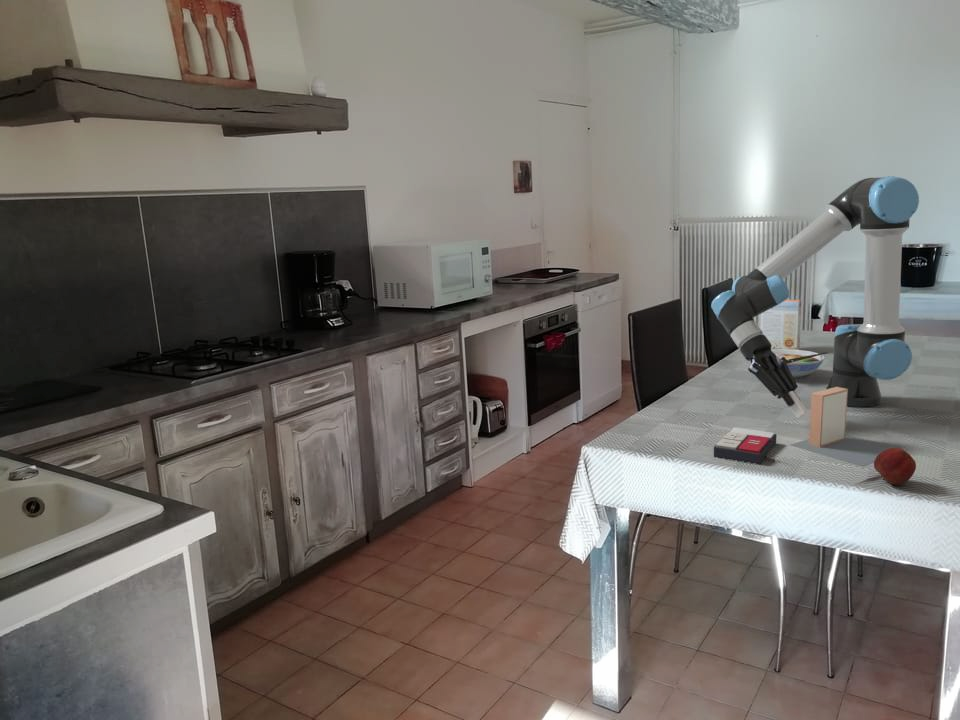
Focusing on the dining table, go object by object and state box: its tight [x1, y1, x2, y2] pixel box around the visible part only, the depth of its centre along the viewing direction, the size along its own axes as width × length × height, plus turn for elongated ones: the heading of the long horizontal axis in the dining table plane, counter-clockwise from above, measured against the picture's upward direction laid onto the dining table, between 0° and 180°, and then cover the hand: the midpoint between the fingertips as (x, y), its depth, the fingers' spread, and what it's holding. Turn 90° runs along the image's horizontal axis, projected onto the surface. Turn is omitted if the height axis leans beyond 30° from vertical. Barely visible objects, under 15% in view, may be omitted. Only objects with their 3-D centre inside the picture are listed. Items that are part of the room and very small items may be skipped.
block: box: [808, 387, 848, 447], centre depth 186 cm, size 10×3×13 cm, turn 121°
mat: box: [790, 433, 908, 467], centre depth 183 cm, size 18×19×1 cm
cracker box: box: [759, 299, 803, 350], centre depth 294 cm, size 14×6×21 cm, turn 58°
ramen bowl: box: [771, 349, 828, 380], centre depth 257 cm, size 25×23×8 cm
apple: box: [873, 446, 917, 486], centre depth 162 cm, size 7×8×8 cm
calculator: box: [713, 427, 777, 465], centre depth 185 cm, size 11×4×15 cm
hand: (802, 415), depth 193 cm, fingers closed
